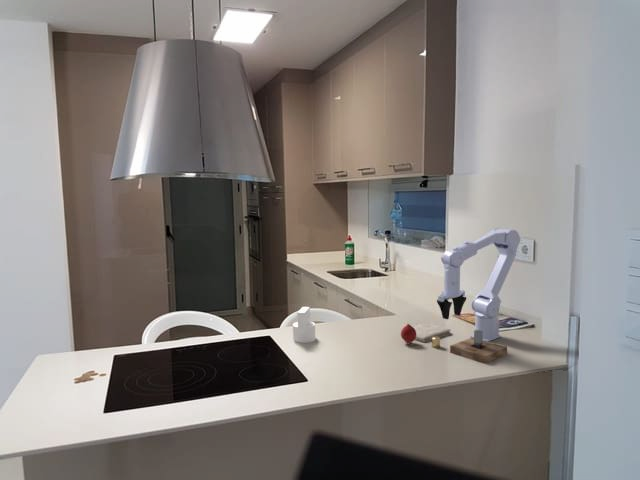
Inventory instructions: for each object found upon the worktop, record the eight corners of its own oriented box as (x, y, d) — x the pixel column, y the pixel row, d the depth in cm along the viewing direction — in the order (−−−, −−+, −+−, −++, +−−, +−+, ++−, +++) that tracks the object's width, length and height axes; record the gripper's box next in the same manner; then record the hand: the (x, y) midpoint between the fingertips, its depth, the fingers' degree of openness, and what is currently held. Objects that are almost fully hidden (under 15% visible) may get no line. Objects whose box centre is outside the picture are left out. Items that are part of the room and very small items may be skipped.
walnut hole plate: (472, 343, 170) (472, 337, 170) (507, 353, 159) (507, 347, 159) (450, 352, 162) (450, 345, 161) (485, 363, 151) (485, 356, 150)
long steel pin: (476, 350, 163) (477, 329, 162) (484, 353, 160) (484, 331, 159) (471, 352, 161) (472, 331, 160) (478, 355, 159) (479, 333, 158)
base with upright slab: (312, 343, 174) (312, 313, 173) (290, 342, 176) (289, 312, 174) (317, 335, 183) (317, 307, 181) (296, 334, 185) (295, 306, 183)
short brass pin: (435, 344, 170) (435, 335, 169) (441, 347, 167) (441, 337, 167) (430, 346, 168) (430, 337, 168) (436, 348, 166) (436, 339, 165)
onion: (416, 341, 174) (416, 321, 173) (415, 346, 168) (415, 326, 167) (401, 340, 175) (401, 320, 174) (400, 345, 170) (400, 325, 169)
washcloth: (452, 334, 183) (452, 327, 183) (423, 344, 172) (423, 336, 172) (429, 327, 192) (429, 320, 192) (400, 336, 182) (400, 329, 181)
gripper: (454, 277, 177) (453, 311, 179) (431, 283, 168) (431, 318, 169) (470, 280, 172) (469, 314, 173) (447, 285, 163) (447, 322, 164)
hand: (451, 316), depth 171 cm, fingers open, 7 cm apart
